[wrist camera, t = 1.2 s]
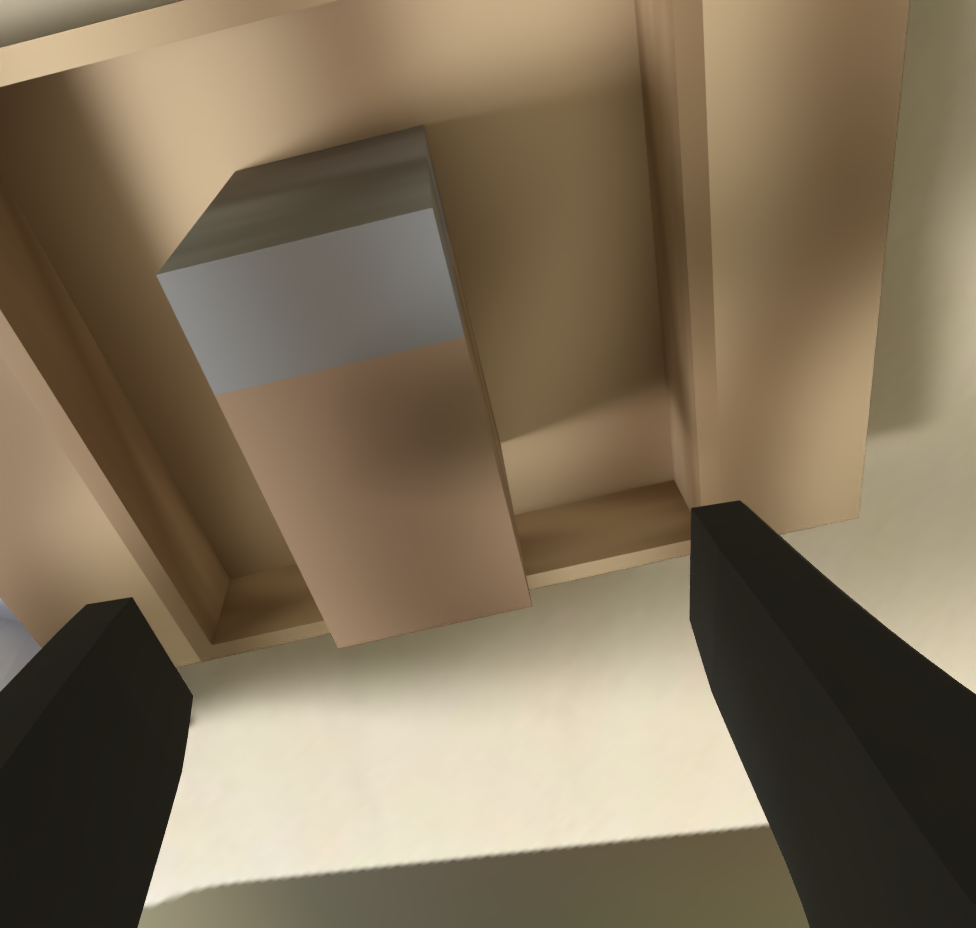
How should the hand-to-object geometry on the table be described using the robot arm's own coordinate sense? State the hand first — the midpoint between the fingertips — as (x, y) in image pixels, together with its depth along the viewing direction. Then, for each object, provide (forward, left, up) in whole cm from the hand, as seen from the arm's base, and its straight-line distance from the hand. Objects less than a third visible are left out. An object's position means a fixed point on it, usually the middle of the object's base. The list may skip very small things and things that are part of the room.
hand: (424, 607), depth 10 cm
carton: (-1, 0, -10) cm, 10 cm away
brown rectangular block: (-1, 0, -10) cm, 10 cm away
